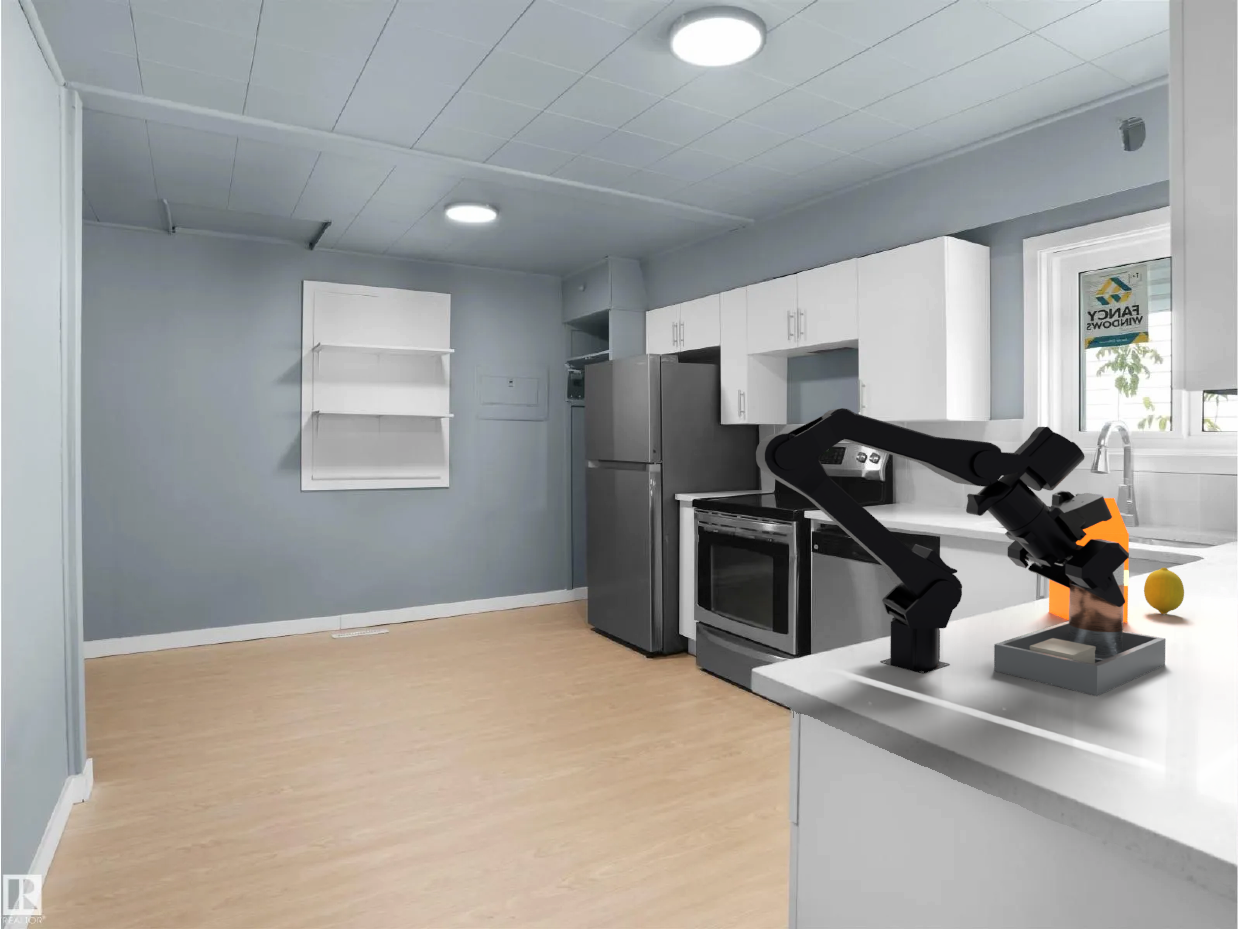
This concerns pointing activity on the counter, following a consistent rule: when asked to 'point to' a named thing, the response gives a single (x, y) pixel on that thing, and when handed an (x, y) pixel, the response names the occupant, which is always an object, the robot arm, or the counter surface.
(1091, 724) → the counter surface
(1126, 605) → the orange juice
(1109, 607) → the steel tin
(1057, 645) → the cream smooth square block
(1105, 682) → the grey rectangular tray
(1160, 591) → the lemon
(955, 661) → the counter surface
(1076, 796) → the counter surface
